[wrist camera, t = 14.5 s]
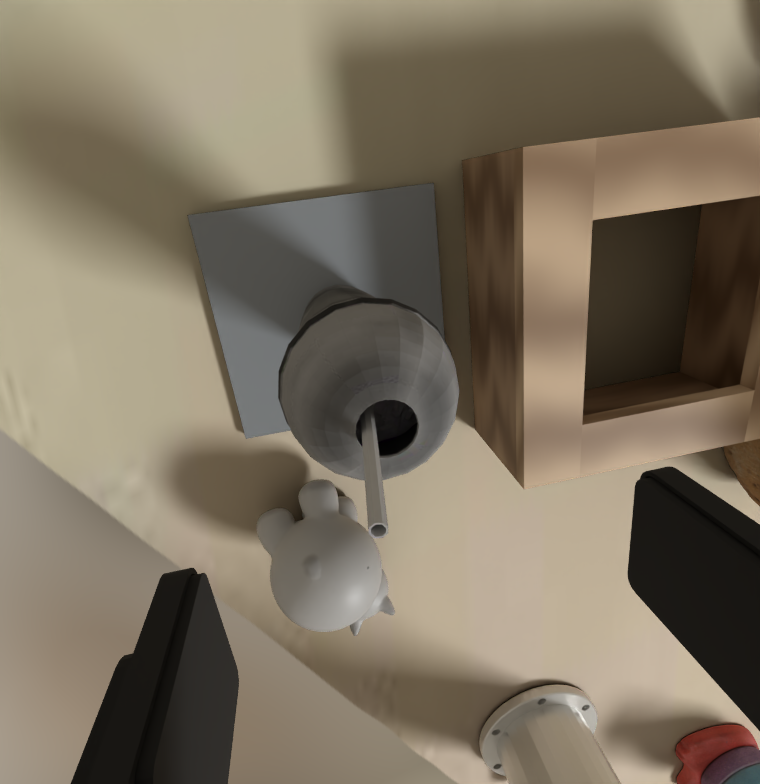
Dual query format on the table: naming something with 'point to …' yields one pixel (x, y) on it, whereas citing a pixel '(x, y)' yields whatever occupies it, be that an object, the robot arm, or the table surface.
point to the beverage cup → (368, 389)
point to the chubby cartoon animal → (324, 562)
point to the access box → (571, 295)
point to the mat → (309, 275)
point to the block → (746, 465)
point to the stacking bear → (719, 756)
